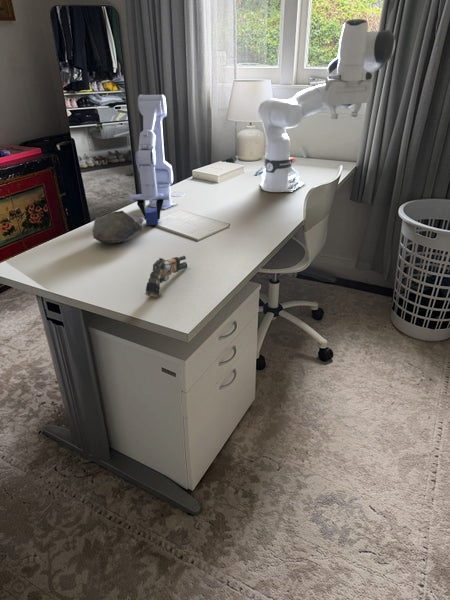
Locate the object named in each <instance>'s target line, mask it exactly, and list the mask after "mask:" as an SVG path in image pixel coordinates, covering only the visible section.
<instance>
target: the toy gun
mask: <svg viewBox="0 0 450 600" xmlns="http://www.w3.org/2000/svg"><path fill="white" fill-rule="evenodd" d="M186 259H187V257H186V255H182V256H176V257H172V258H169V259H165V258H163V257H159V258H158V259H157V260H155V262H154V263H153V264H152V271H151V272H150V274H149V278H148V281H147V283H146V286H145V295H146V296H148V297H153V298H158V297H159V295H160V290H161V284H162V283H163V282H168V281H169V278H170V277H169V276H171V275H172V274H173V273H178V272H179V271H182V270H184V269H187V268H188V263H187V262H186V261H184V260H186ZM181 261H183V262H181Z"/></svg>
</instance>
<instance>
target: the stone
mask: <svg viewBox="0 0 450 600" xmlns="http://www.w3.org/2000/svg"><path fill="white" fill-rule="evenodd" d="M143 223H144V217H141V216H135V215H133V214H129V213H127V212H124V210H119V211H111V212H109V213H107V214H105V215H101V216H100V217H99V216H97V217H95V219H94V222H93V228H92V230H91V231H92V236H93V239H94V240H96V241H98V242H100V243H108V244H119V243H124V242H126V241H128V240H129V239H130V238H132V237H134V236H135V235H137V234H139V233H140V232H142V231H143V229H144V225H143Z"/></svg>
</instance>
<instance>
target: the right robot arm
mask: <svg viewBox="0 0 450 600" xmlns="http://www.w3.org/2000/svg"><path fill="white" fill-rule="evenodd" d="M368 29H369V25H368V21H367V20H366V19H362V18H355V19H349V20H346V21H345V22H344V24H343V26H342V31H341V36H340V39H339V40H338V45H337V57H336V58H334V59H332V61H331V62H330V63H329V64H328V66H327V73H328V74H327V75H328V77H327V78H326V80H325V81H324V83H323V84H318V85H315V86H311V87H309V88H305V89H303V90H301V91H298V92H296V94H295V95H294V96H292V97H291V98H288V99H279V98H268V99H265V100H263V101H261V103H260V104H259V107H258V110H257V114H258V118H259V119H260V121H261V123H262V126H263V132H264V136H265V158H264V168H263V169H262V170H263V171H262V174H261V182H260V188H261V190H263V191H265V192H269V193H292V192H294V191H296V190H297V189H299V188H301V187H303V186H304V182H302V181H300V173H299V171H297V170H296V169H295V167H293V166H292V163H295V161H296V158H295V157H290V155H291V139H290V137H289V136H288V133H287V129H293V128H296V127H298V126H299V125H300V124H301V122H302V120H304V119H305V118H308V117H310V116H313V115H316V114H317V113H320V112H322V111H324V110H326V109H328V108H329V111H330V113H331V117H330V118H331V119H332V120H338V119H339V113H337V108H338V107H341V108H342V109H346V110H347V109H353V108H354V109H353V110H352V111H351V114H350V117H351V118H357V117H358V116H359V115H358V114H359V111H360V109H361V108H362V104H368V103H369V102H370V101H371V99H372V94H373V80H374V78H375V77H374V76H375V72H377V71H378V70H381V69H383V67H384V66H385V65H386V63H388V62H389V61H390V60H391V58H392V57H393V55H394V52H395V48H396V36H395V35H394V33H393V32H392V31H391V30H390V29H385V30H380V31H379V30H377V31H375V30H374V31H373V30H372V31H369V30H368Z"/></svg>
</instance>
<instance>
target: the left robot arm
mask: <svg viewBox="0 0 450 600" xmlns="http://www.w3.org/2000/svg"><path fill="white" fill-rule="evenodd" d="M137 107H138V111H139V113H140V114H141V116H142V118H143V119H142V123H143V124H142V125H143V126H142V129H143V130H142V131H141V132H140V133H139V138H138V139H139V140H138V149H137V150H136V151H135V165H136V166H137V171H138V172H139V181H140V189H141V190H140V191H141V193H138V194H130V195H129V199H130V202H136V204H137V207H138V208H139V210H140V212H141V213H142V217H143V220H144V221H146V217H145V212H146V209H147V206H148V207H152V208H155V209H157V216H158V219H159V220H161V213H162V212H161V211H162V210H166V209H168V208H171V207H174V206H176V205H177V203H175V202H172V192H171V191H172V190H171V185H173V182H174V171H173V166H172V165H171V164H170V163H169V162H168V161H166V158H165V146H164V130H163V129H164V128H163V120H164V118H166V117H167V115H168V111H167V100H166V96H165V95H164V94H163V93H162V94H139V95H138V96H137ZM147 201H148V202H149V203H148V205H146V202H147Z"/></svg>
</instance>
